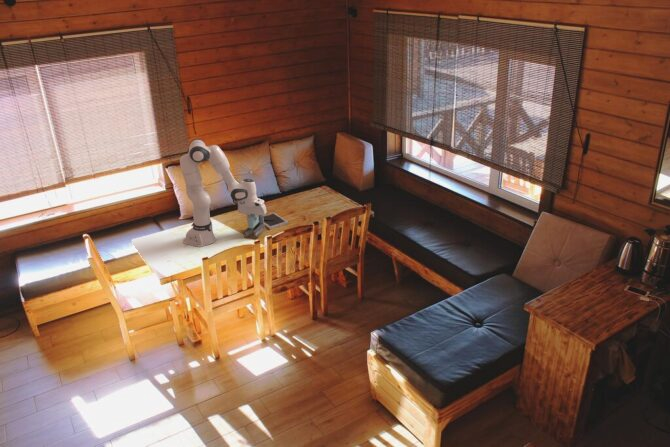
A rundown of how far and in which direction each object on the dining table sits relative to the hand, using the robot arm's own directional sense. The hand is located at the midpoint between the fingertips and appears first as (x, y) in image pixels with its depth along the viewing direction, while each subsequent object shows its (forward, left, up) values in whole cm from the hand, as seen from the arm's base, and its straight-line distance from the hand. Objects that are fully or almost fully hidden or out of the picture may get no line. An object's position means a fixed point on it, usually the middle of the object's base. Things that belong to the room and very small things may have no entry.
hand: (253, 219), depth 403 cm
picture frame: (+5, +21, -12) cm, 24 cm away
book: (0, 0, -4) cm, 4 cm away
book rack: (0, 0, -11) cm, 11 cm away
